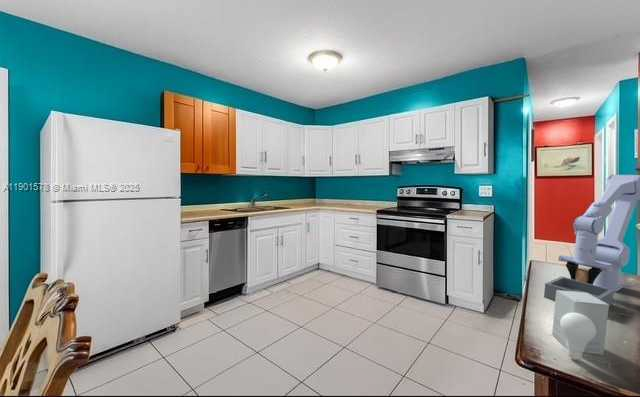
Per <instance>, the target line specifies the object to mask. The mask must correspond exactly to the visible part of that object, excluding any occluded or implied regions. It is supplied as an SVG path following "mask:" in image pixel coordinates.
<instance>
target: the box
mask: <svg viewBox="0 0 640 397" xmlns="http://www.w3.org/2000/svg"><path fill="white" fill-rule="evenodd" d="M556 290H560V291H574V292H585V293H589V294H590V295H592V296H594V297H596V298H597V299H599V300H601V301H603V302H605V303H607V304H608V305H609V308H610V307H611V306H612V305H613V301H614V295H615V292H614V290H612V289H608V288H604V287H600V286H596V285H593V284H589V283H585V282H581V281H577V280H573V279H571V277H565V276H559V277H558V278H554V279H553V280H550V281H547V282H546V283H544V291H543V292H544V293H543V298H546V299H547V300H548V299H549V300H552V301H554V302H555V299H556Z"/></svg>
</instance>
